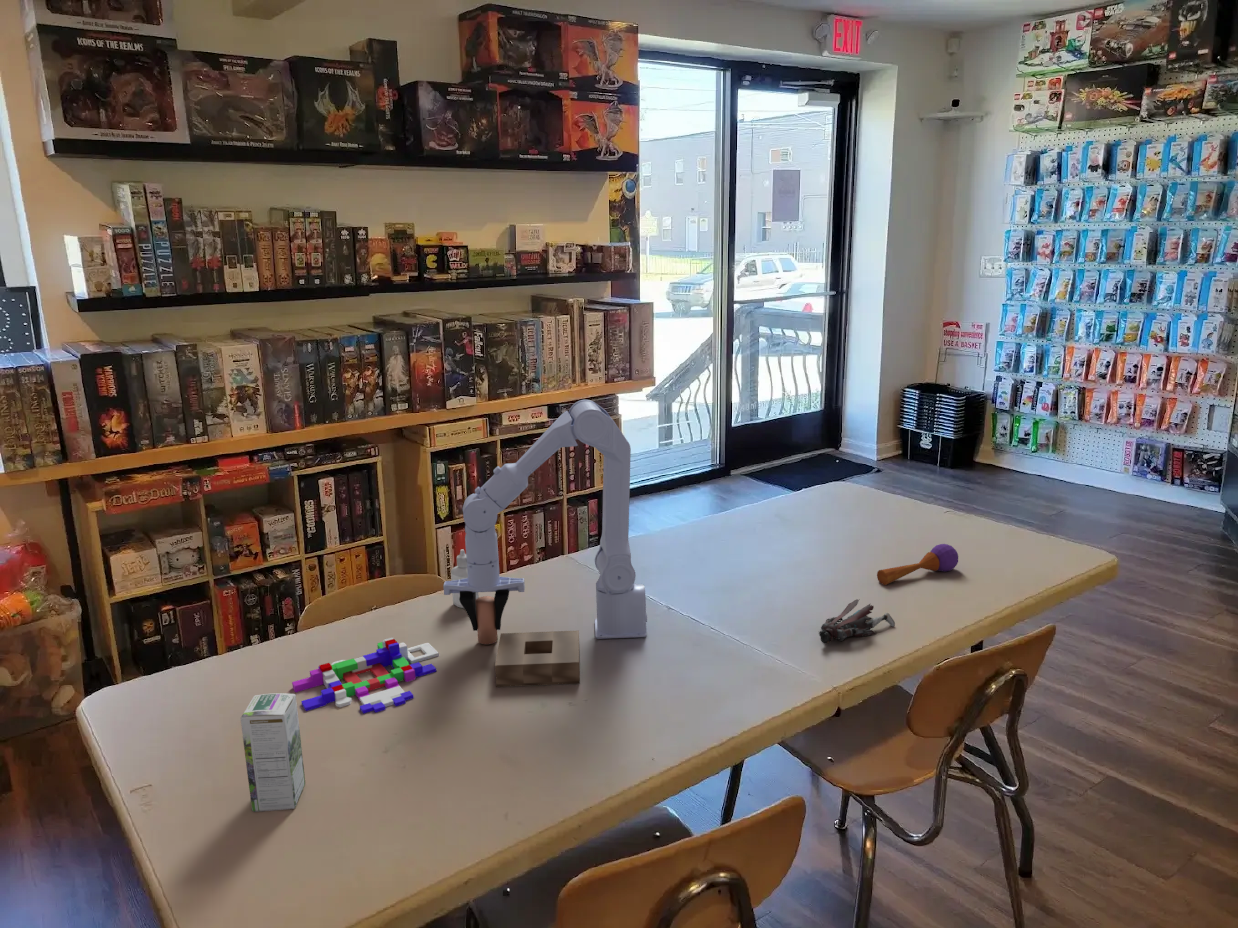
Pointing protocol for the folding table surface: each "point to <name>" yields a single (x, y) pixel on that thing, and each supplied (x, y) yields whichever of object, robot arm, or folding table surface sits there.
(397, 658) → the building block set
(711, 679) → the folding table surface
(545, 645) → the socket block
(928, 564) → the purple and brown maraca
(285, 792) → the syrup box
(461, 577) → the eye dropper bottle
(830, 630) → the action figure
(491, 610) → the pin
